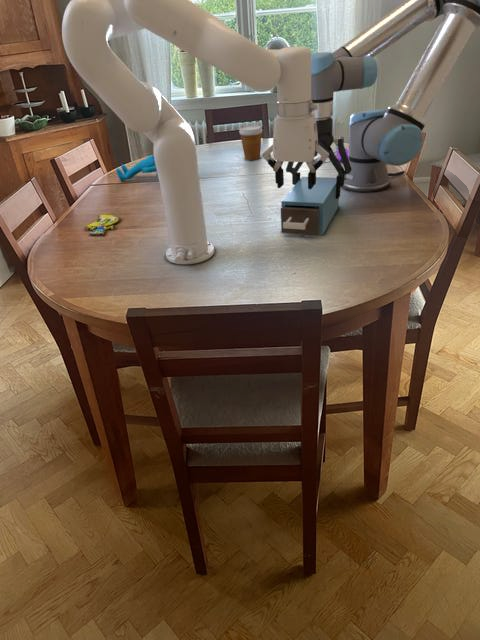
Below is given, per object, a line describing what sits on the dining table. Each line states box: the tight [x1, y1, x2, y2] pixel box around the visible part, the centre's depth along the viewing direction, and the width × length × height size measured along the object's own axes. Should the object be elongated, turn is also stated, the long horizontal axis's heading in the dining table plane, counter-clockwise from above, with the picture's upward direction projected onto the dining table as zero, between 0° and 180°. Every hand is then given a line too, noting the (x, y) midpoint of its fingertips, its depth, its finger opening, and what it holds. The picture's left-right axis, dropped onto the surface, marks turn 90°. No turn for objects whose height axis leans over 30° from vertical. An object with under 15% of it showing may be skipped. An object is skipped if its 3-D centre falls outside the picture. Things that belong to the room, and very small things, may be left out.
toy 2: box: [115, 154, 158, 182], centre depth 182 cm, size 17×11×30 cm
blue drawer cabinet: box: [280, 176, 340, 236], centre depth 136 cm, size 22×11×9 cm, turn 159°
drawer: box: [280, 205, 320, 236], centre depth 131 cm, size 26×10×7 cm, turn 159°
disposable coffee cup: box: [238, 124, 263, 161], centre depth 196 cm, size 10×10×12 cm
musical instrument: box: [314, 146, 349, 164], centre depth 191 cm, size 24×2×20 cm
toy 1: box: [85, 214, 120, 236], centre depth 147 cm, size 10×1×15 cm
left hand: (295, 186), depth 118 cm, fingers open, 7 cm apart
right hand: (317, 196), depth 142 cm, fingers closed on blue drawer cabinet, 11 cm apart
